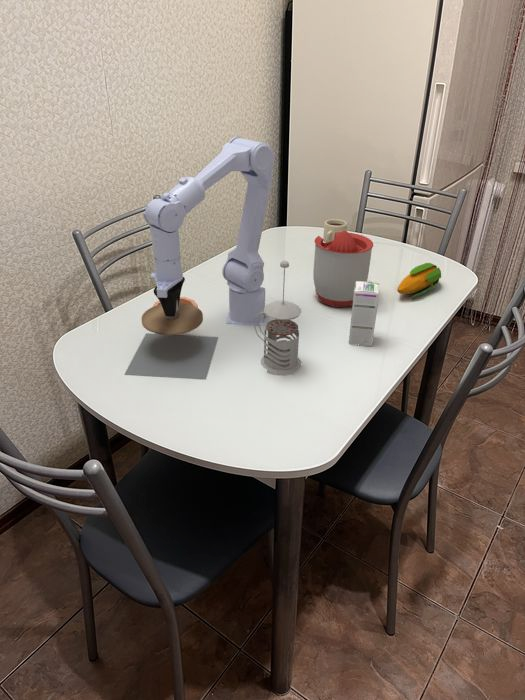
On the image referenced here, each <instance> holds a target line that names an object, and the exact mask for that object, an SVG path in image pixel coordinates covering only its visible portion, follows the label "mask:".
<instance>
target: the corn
mask: <svg viewBox="0 0 525 700" xmlns="http://www.w3.org/2000/svg"><path fill="white" fill-rule="evenodd" d="M441 278H442V270H441V269H440V267H438V266H437V264H436V265H435V264H433V263H431V262H425V263H423V264H420V265H417V266H415V267H414V268H412V269H411V271H409V274H408V275H406V277H404V278H403V279H402V280H401V282H400V283H399V284H398V286H397V289H396V291H397V292H398V293H399V294H400V295H404V294H405V295H408V294H409V295H410V294H414V293H416V292H419V291H421V290H423V289H425V290H423V291H421V292H419V293H417V294H415V295H413V296H412V298H416V297H418V296H421V295H423V294H425V293H427V292H429V291H431V290H433V289H435V287H436V286H437V285H438V283H439V281H440V279H441Z"/></svg>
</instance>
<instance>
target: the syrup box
mask: <svg viewBox="0 0 525 700" xmlns="http://www.w3.org/2000/svg"><path fill="white" fill-rule="evenodd" d="M379 294H380V283H379V282H372V281H367V282H363V281H356V284H355V288H354V297H353V305H351V307H352V308H351V316H350V326H349V327H350V329H349V337H348V344H349V345H353V344H357V345H356V346H361V345H367V346H366V347H372V346H373V340H374V334H375V328H376V327H375V325H376V321H377V312H378V303H379ZM358 344H359V345H358Z"/></svg>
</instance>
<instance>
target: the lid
mask: <svg viewBox="0 0 525 700" xmlns="http://www.w3.org/2000/svg"><path fill="white" fill-rule="evenodd" d="M203 321H204V314H203V311H202V310H201V309H200V308H199V307H198V308H197V307H195V306H193V305H190V304H186V303H179V307H178V300H177V303H176V314H175V317H169V316H166V315H165V313H164V310H163V308H162V305H161V304H160V305H157V306H154V307H153V306H152V307H150V308H148V309H147V310H146V311H144V312H143V314H142V315H141V324H142V327H143V328H144V329H145V330H147V331H148V332H149V333H152V334H161V335H183V334H186V333H189V332H192V331H194V330H195V329H197V328H199V327H200V326H201V325H202V323H203Z"/></svg>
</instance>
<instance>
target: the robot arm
mask: <svg viewBox="0 0 525 700" xmlns="http://www.w3.org/2000/svg"><path fill="white" fill-rule="evenodd" d="M275 158H276V154H275V152H274V151H273V149H272V148H271V146H270V145H269V144H268V143H267V142H264V141H260V142H259V141H255V140H252V139H249V138H248V139H246V138H243V137H241V136H234V137H232V138H231V139H230V140H229V141H228V142H227V143H225V144H223V145H222V150H221V152H219V153H218V154H217V155H216V156H215V157H214V159H212V160H211V161H210V162H209V163H208V164H207V165H206V166H205V167H204V168H203V169H202V170H201V171H200V172H199V173H198V174H197V175H196V176H195V177H193V176H186V177H183V176H182V177H181V178H179V180H178V183H177V184H176V185H174V186H173V187H172V188H171V189H170V190H169V191H167V192H165V193H163V194H162V197H160V198H154V199H152V200H150V201H149V202H148V204H147V205H146V207H145V211H144V213H142V216H143V218H144V221H145V223H147V224H148V226H149V231H150V236H151V244H152V253H153V256H152V257H153V262H154V263H153V264H154V272H152V273H151V274H150V275H149V276H150V279H151V280H154V281H155V284H156V286H155V287H154V289H153V294H154V296H155V297H156V298H157V299H158V301H160V303H161V305H162V308H163V310H164V313H165V315H166V316H169V317H175V314H176V303H177V300H178V307H179V302H180V297H181V292H182V289H183V284H184V283H185V282H186V278H185V277H184V274H183V272H182V260H181V257H182V256H181V248H180V246H181V245H180V233H179V229H180V228H181V227H182V225H183V223H184V220H185V218H186V217H187V215H188V214H189V213H190V212H191V211H192V210H193V209H194V208H196V206H198V205H199V204H200V203H201V202H202V201H204V200H205V197H206V190H208V189H210V188H211V187H212V186H214V185H216V183H218V182H219V181H221V180H222V179H223V178H224V177H226V176H227V175H229V174H230V173H231V172H239V173H241V175H242V176H243V177H244V179H245V180H246V182H247V187H246V193H245V198H244V203H243V208H242V214H241V219H240V223H239V229H238V235H237V241H236V247H235V248H233V250H230V251H229V252H228V253H227V258H226V261H225V263H224V264H223V267H222V269H221V270H222V271H221V272H222V277H223V278H224V280H226V282H227V283H226V285H227V286H228V302H229V305H228V308H229V311H228V314H227V319H226V322H225V323H226V324H227V325H245V326H254V320H255V318H256V316H257V315H258V314H259V313H261V312H262V311H263V310H264V308H265V307H266V288H265V287H263V286H262V285H263V282H264V279H265V273H264V266H265V262H264V261H263V259H262V257H261V256H260V253H259V248H260V243H261V239H262V234H263V228H264V223H265V219H266V218H265V217H266V213H267V209H268V204H269V200H270V199H269V198H270V194H271V189H272V182H273V169H274V163H275ZM258 317H259V315H258V316H257V318H256V321H255V326H259V325H258ZM264 319H265V314H264V313H261V315H260V318H259V324H260V326H263V325H264Z"/></svg>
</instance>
